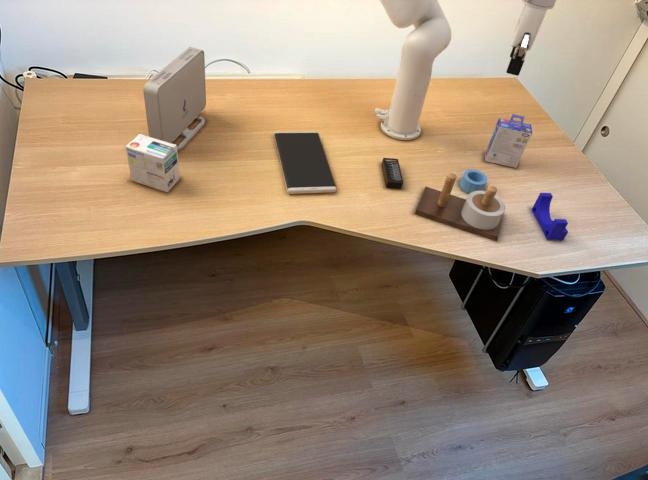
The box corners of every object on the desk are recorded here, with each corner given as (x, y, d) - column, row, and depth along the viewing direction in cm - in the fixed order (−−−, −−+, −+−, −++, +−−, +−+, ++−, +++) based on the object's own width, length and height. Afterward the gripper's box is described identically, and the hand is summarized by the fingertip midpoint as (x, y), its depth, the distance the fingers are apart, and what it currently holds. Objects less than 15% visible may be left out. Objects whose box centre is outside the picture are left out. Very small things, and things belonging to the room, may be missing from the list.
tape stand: (414, 213, 145) (425, 180, 136) (424, 190, 152) (435, 157, 144) (496, 241, 141) (512, 208, 133) (502, 215, 148) (517, 183, 140)
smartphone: (317, 135, 164) (318, 130, 163) (336, 193, 146) (337, 188, 145) (273, 136, 161) (273, 131, 160) (287, 195, 144) (288, 190, 142)
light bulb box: (180, 178, 143) (178, 144, 135) (167, 193, 139) (164, 158, 131) (144, 167, 145) (139, 132, 137) (130, 181, 140) (124, 145, 132)
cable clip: (563, 240, 144) (573, 223, 140) (547, 239, 144) (557, 222, 139) (546, 210, 152) (556, 193, 148) (531, 209, 152) (540, 192, 147)
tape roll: (457, 189, 154) (461, 179, 151) (461, 176, 158) (465, 166, 156) (481, 197, 153) (485, 187, 150) (484, 183, 157) (489, 173, 154)
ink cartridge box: (516, 158, 168) (535, 116, 157) (517, 168, 164) (536, 127, 154) (484, 151, 169) (501, 109, 158) (484, 161, 165) (502, 119, 154)
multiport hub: (386, 188, 150) (387, 181, 149) (381, 164, 158) (382, 157, 156) (401, 189, 151) (403, 182, 149) (396, 165, 158) (398, 158, 157)
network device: (171, 159, 148) (164, 92, 133) (142, 150, 149) (132, 82, 135) (213, 114, 165) (211, 50, 150) (187, 106, 166) (182, 42, 152)
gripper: (526, -18, 136) (502, 49, 148) (521, 5, 124) (495, 76, 137) (557, -12, 135) (530, 56, 147) (554, 13, 123) (526, 84, 135)
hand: (513, 65), depth 142 cm, fingers open, 9 cm apart
